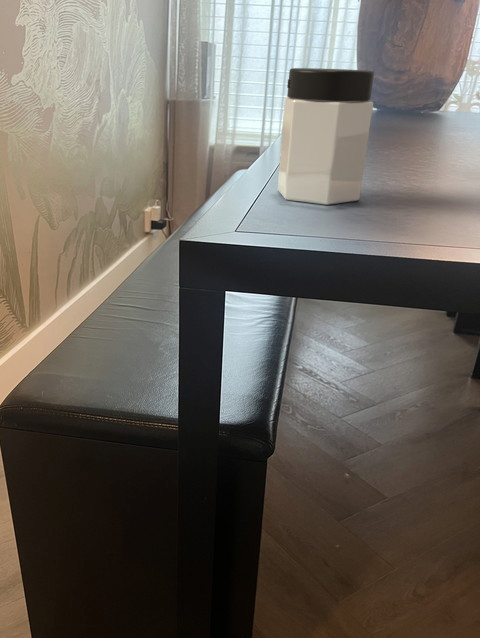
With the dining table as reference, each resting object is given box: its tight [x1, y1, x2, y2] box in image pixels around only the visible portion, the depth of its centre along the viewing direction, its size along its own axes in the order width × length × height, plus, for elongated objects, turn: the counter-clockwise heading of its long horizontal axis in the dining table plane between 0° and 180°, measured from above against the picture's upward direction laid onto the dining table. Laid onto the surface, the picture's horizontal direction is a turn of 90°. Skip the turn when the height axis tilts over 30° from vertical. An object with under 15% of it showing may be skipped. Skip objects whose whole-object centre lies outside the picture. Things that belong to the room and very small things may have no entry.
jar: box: [277, 67, 375, 206], centre depth 61 cm, size 9×8×12 cm
